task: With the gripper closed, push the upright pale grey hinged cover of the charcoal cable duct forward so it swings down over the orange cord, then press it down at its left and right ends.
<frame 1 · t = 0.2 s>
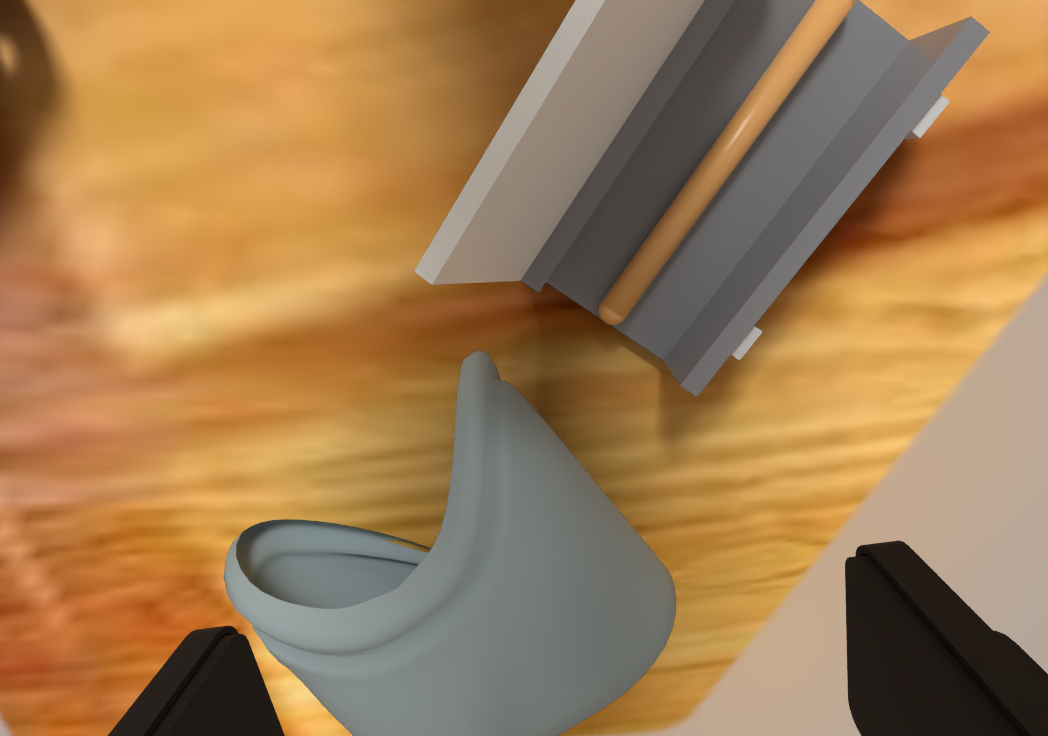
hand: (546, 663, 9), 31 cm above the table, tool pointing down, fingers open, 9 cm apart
cable duct: (707, 167, 36), on the table
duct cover: (625, 45, 23), point 12 cm above the table, hinge at 105.0°
pencil case: (459, 514, 44), on the table
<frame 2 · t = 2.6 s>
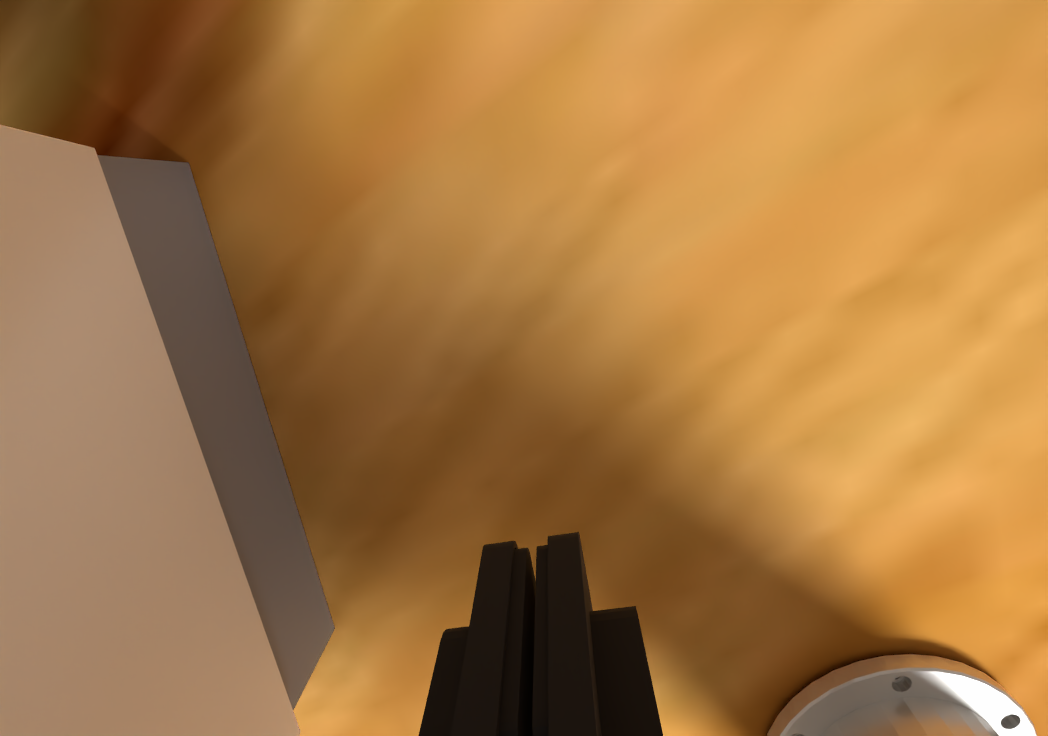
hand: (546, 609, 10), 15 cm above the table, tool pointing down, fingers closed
cable duct: (144, 441, 27), on the table
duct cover: (124, 586, 15), point 12 cm above the table, hinge at 105.0°
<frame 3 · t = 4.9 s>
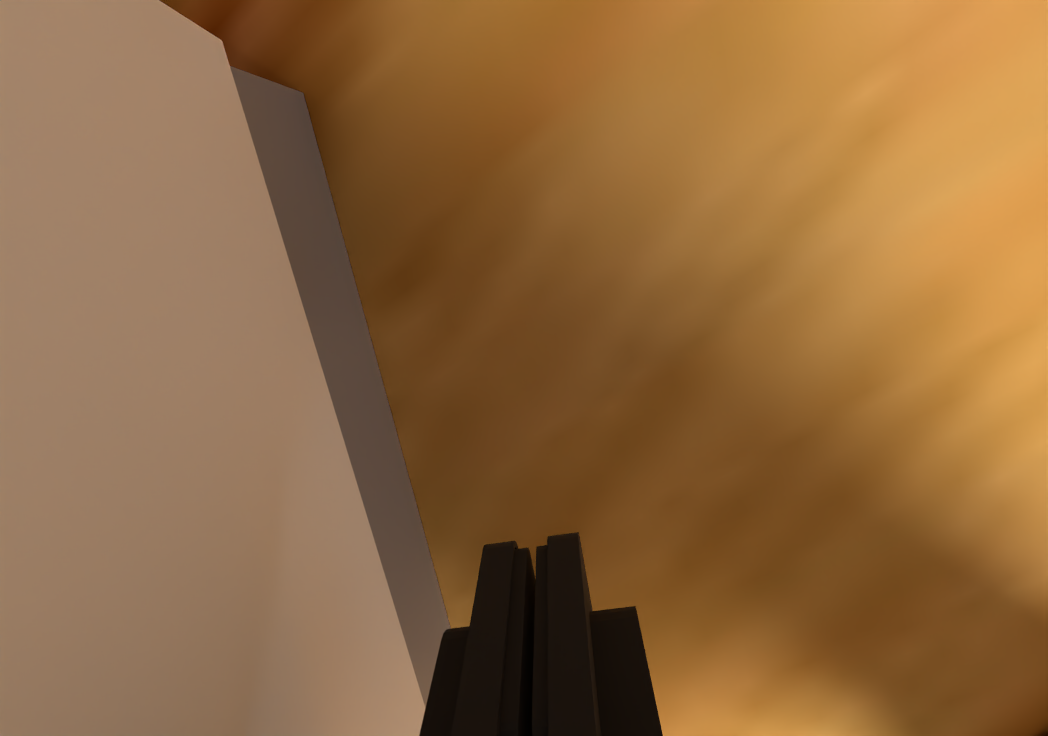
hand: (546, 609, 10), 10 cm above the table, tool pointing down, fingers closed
cable duct: (235, 457, 21), on the table
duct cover: (278, 728, 9), point 12 cm above the table, hinge at 97.3°, touching gripper
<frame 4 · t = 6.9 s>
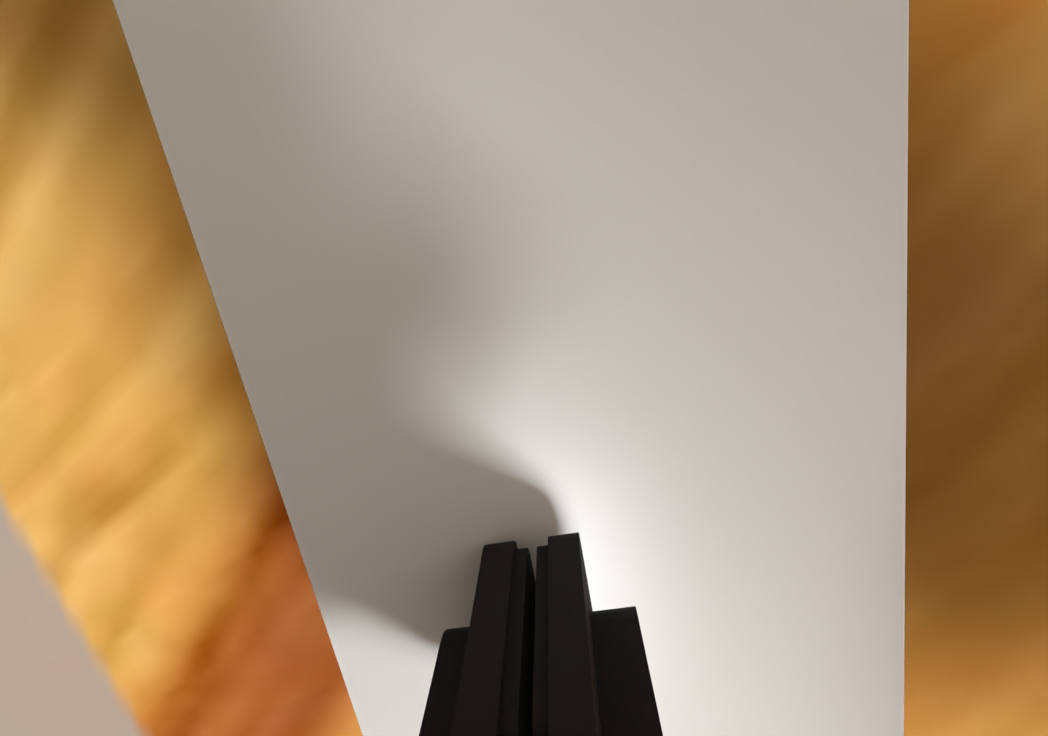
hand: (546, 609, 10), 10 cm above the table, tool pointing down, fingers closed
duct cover: (651, 542, 12), point 9 cm above the table, hinge at 20.5°, touching gripper
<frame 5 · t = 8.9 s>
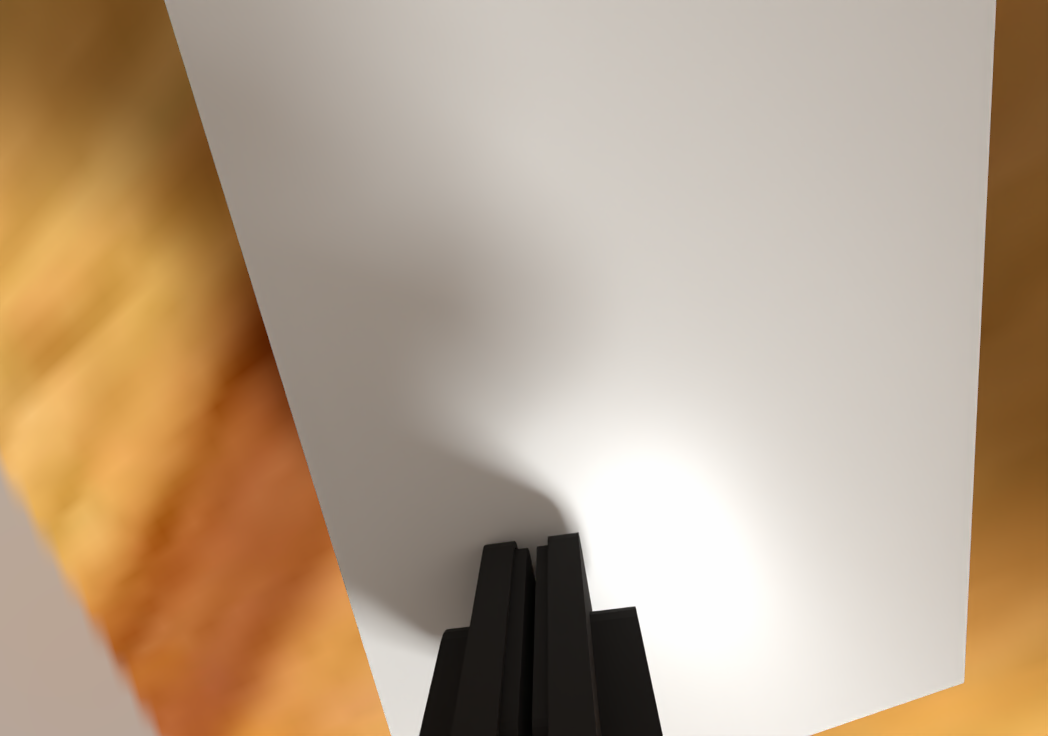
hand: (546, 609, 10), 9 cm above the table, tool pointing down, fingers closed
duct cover: (648, 234, 10), point 8 cm above the table, hinge at 14.2°, touching gripper
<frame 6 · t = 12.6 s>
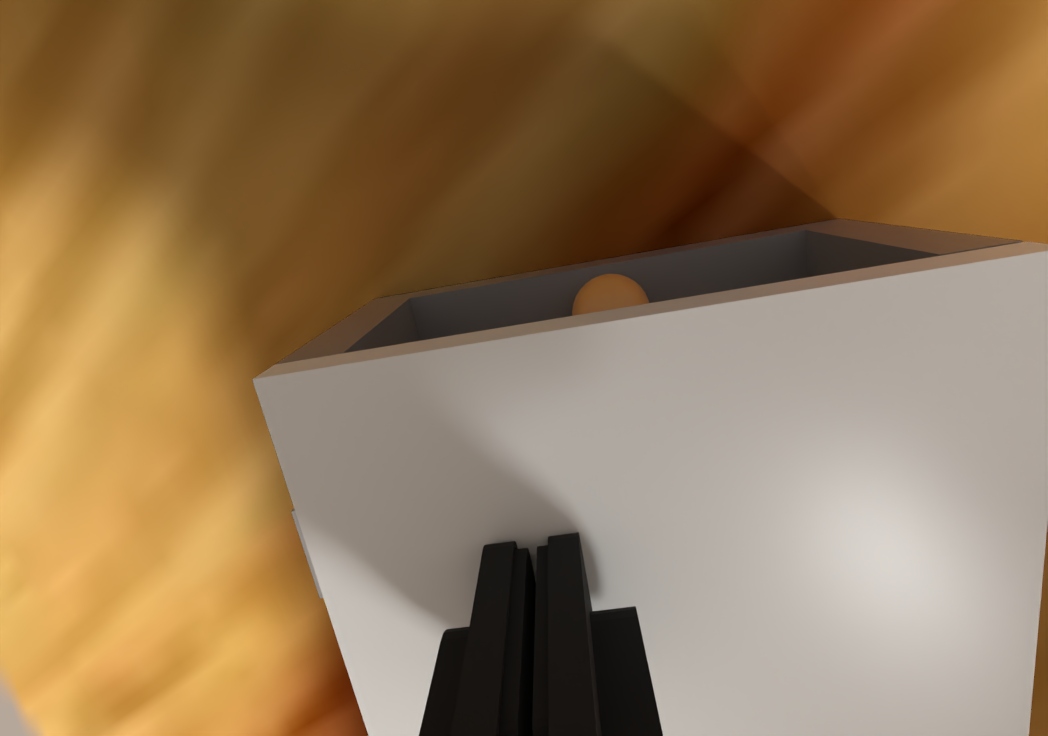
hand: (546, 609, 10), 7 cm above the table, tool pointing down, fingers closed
cable duct: (647, 612, 18), on the table
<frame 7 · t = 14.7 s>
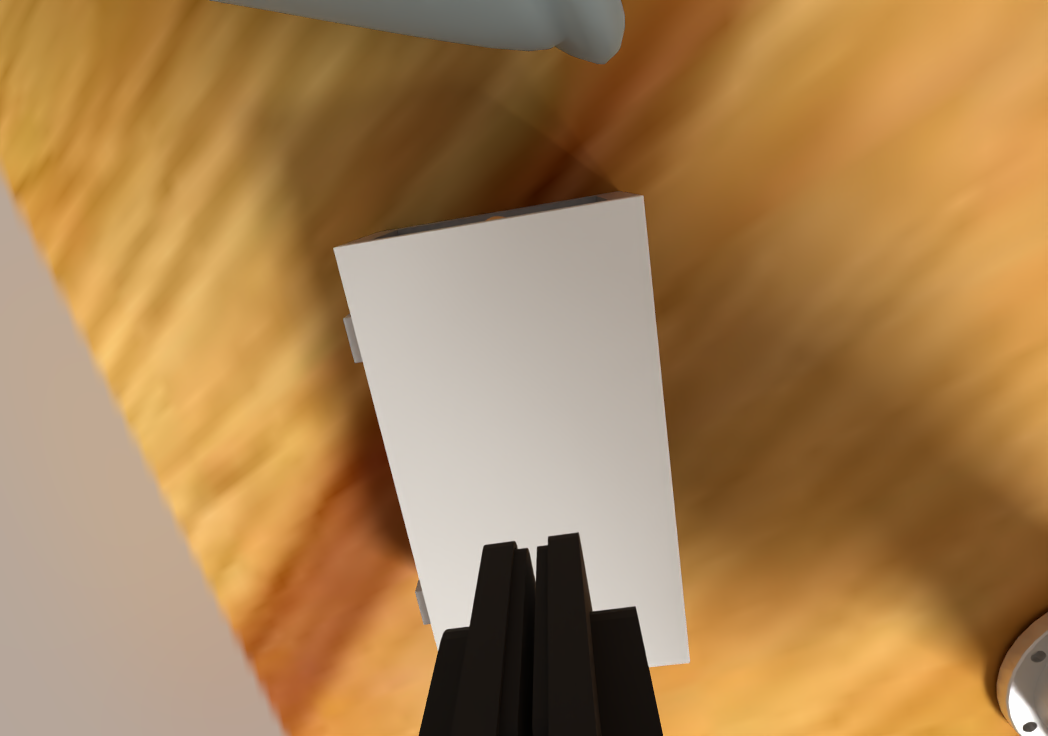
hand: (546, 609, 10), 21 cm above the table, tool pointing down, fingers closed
cable duct: (532, 417, 32), on the table
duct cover: (531, 473, 26), point 6 cm above the table, hinge at -0.4°
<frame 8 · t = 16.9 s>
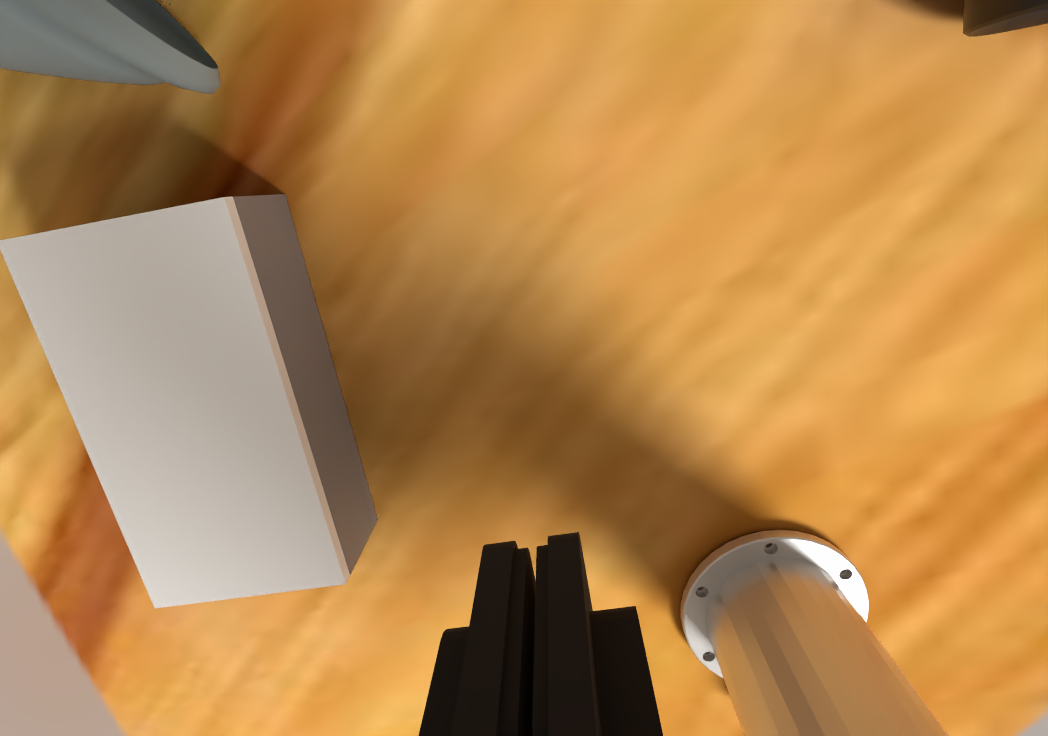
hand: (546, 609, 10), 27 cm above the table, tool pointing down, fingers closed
cable duct: (246, 385, 38), on the table
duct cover: (189, 423, 32), point 6 cm above the table, hinge at -0.4°
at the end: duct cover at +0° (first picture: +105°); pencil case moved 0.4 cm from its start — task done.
